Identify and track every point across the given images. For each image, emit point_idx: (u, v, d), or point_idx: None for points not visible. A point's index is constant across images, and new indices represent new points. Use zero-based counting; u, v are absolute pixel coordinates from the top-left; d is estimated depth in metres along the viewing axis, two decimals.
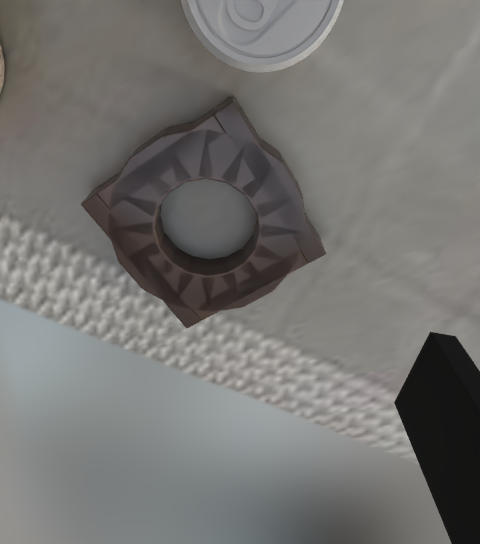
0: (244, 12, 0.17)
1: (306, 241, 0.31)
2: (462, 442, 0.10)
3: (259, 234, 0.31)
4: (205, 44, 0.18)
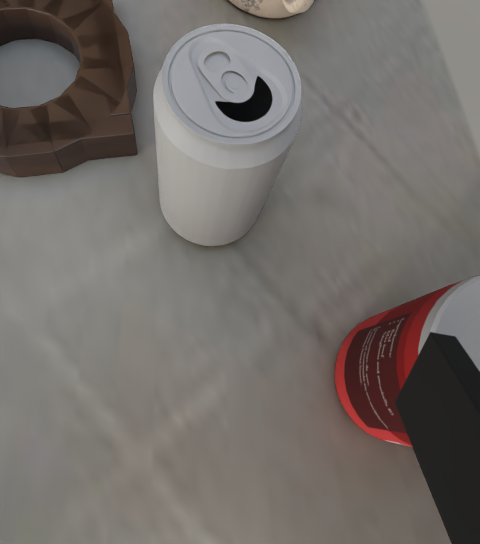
0: (214, 60, 0.18)
1: None
2: (462, 442, 0.10)
3: None
4: None
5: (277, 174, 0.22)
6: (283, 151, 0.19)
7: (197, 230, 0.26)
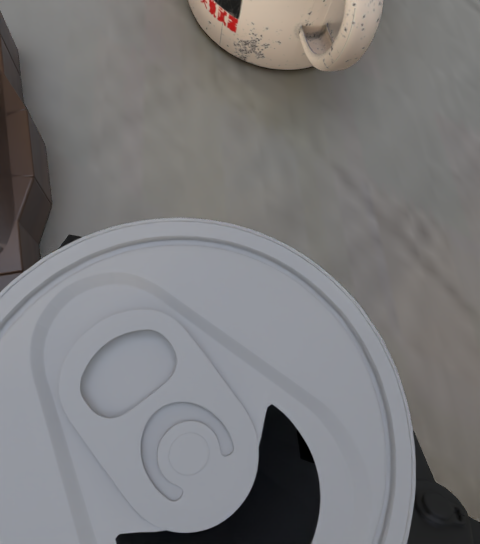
0: (125, 356, 0.05)
1: None
2: None
3: None
4: None
5: (310, 501, 0.09)
6: None
7: None
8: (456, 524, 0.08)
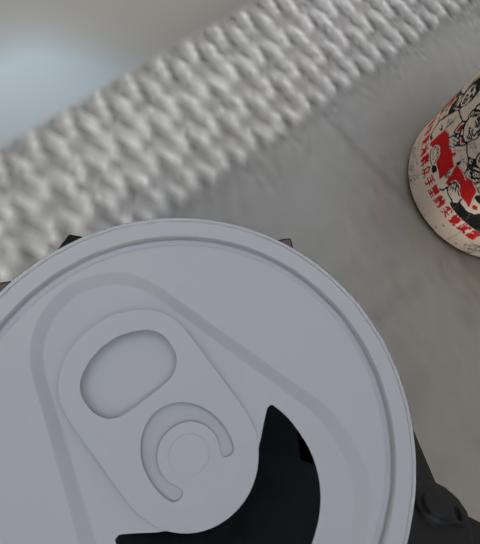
0: (124, 357, 0.05)
1: None
2: None
3: None
4: None
5: (310, 501, 0.09)
6: None
7: None
8: (456, 524, 0.08)
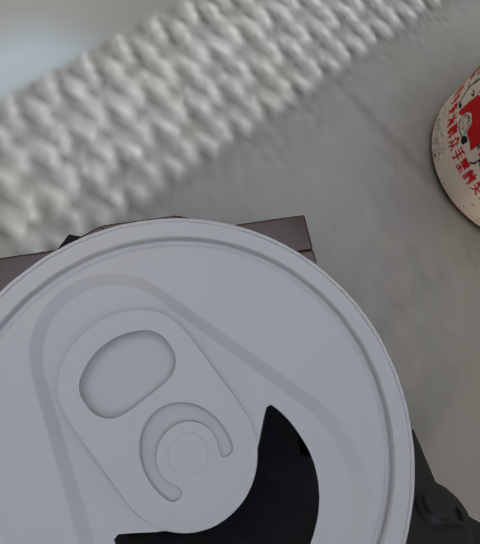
0: (124, 357, 0.05)
1: None
2: None
3: None
4: None
5: (310, 501, 0.09)
6: None
7: None
8: (456, 524, 0.08)
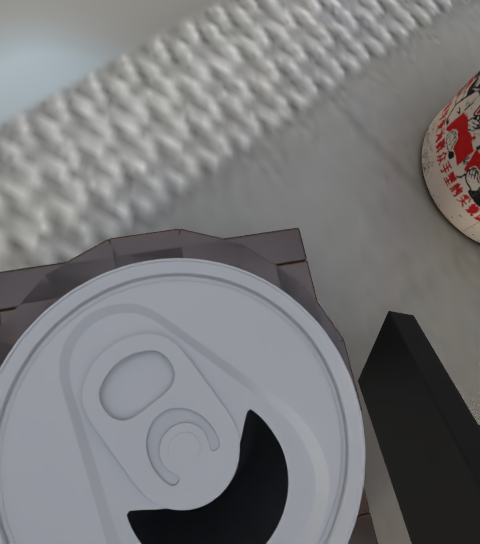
0: (133, 372, 0.07)
1: None
2: (411, 411, 0.11)
3: None
4: None
5: None
6: None
7: None
8: None
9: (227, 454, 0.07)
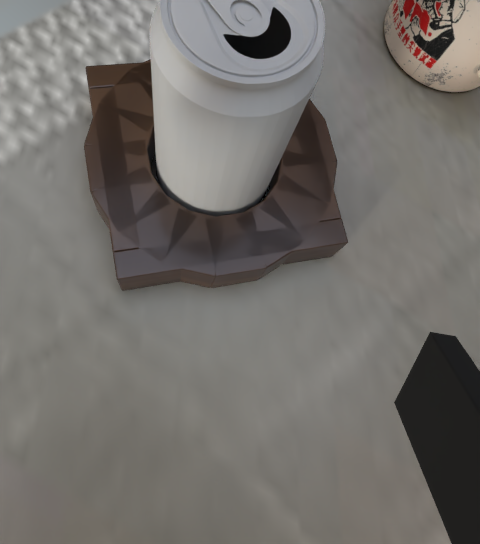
0: None
1: (147, 260, 0.22)
2: (462, 442, 0.10)
3: (184, 208, 0.23)
4: None
5: None
6: (302, 98, 0.16)
7: (199, 202, 0.23)
8: None
9: (264, 20, 0.15)
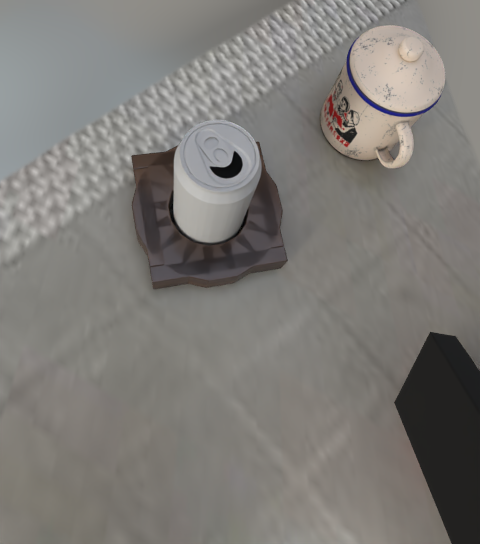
0: (209, 142, 0.32)
1: (169, 271, 0.39)
2: (462, 442, 0.10)
3: (190, 240, 0.40)
4: None
5: None
6: (249, 193, 0.33)
7: (199, 238, 0.39)
8: None
9: (229, 158, 0.32)
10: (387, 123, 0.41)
